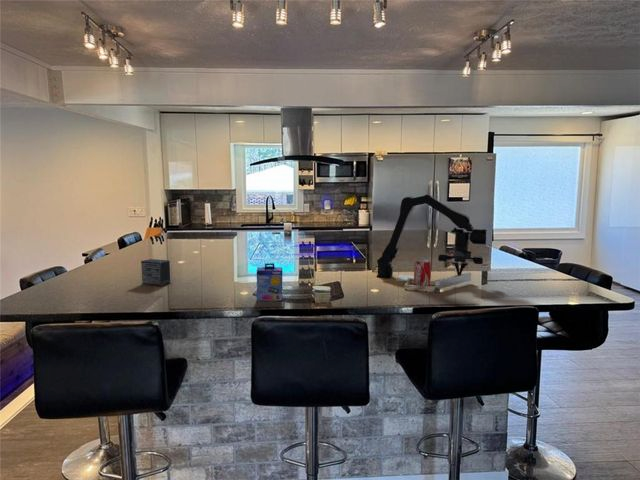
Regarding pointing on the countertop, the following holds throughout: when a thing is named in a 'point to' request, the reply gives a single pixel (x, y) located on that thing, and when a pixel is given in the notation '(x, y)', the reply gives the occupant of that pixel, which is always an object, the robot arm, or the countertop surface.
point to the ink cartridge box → (269, 283)
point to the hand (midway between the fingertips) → (458, 277)
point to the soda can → (422, 272)
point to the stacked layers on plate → (321, 294)
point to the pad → (404, 277)
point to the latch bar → (452, 280)
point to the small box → (155, 272)
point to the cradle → (420, 288)
